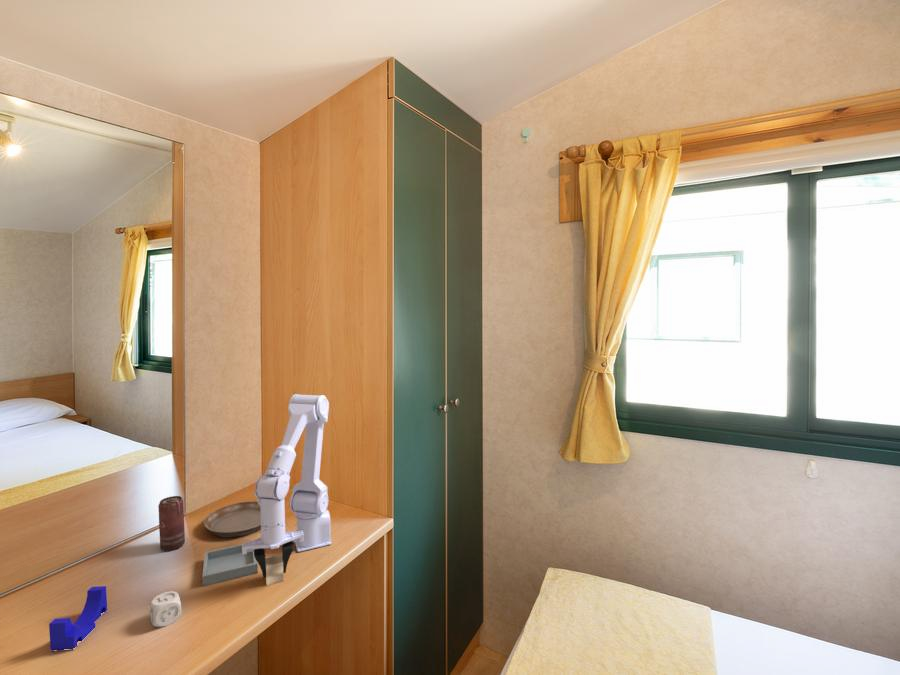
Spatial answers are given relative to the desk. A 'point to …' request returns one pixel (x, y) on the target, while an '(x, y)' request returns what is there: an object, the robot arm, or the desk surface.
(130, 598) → the desk surface
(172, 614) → the die
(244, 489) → the desk surface
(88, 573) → the desk surface
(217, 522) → the plant saucer
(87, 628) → the blue curved piece
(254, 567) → the tray
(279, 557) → the block
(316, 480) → the robot arm
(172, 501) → the can
